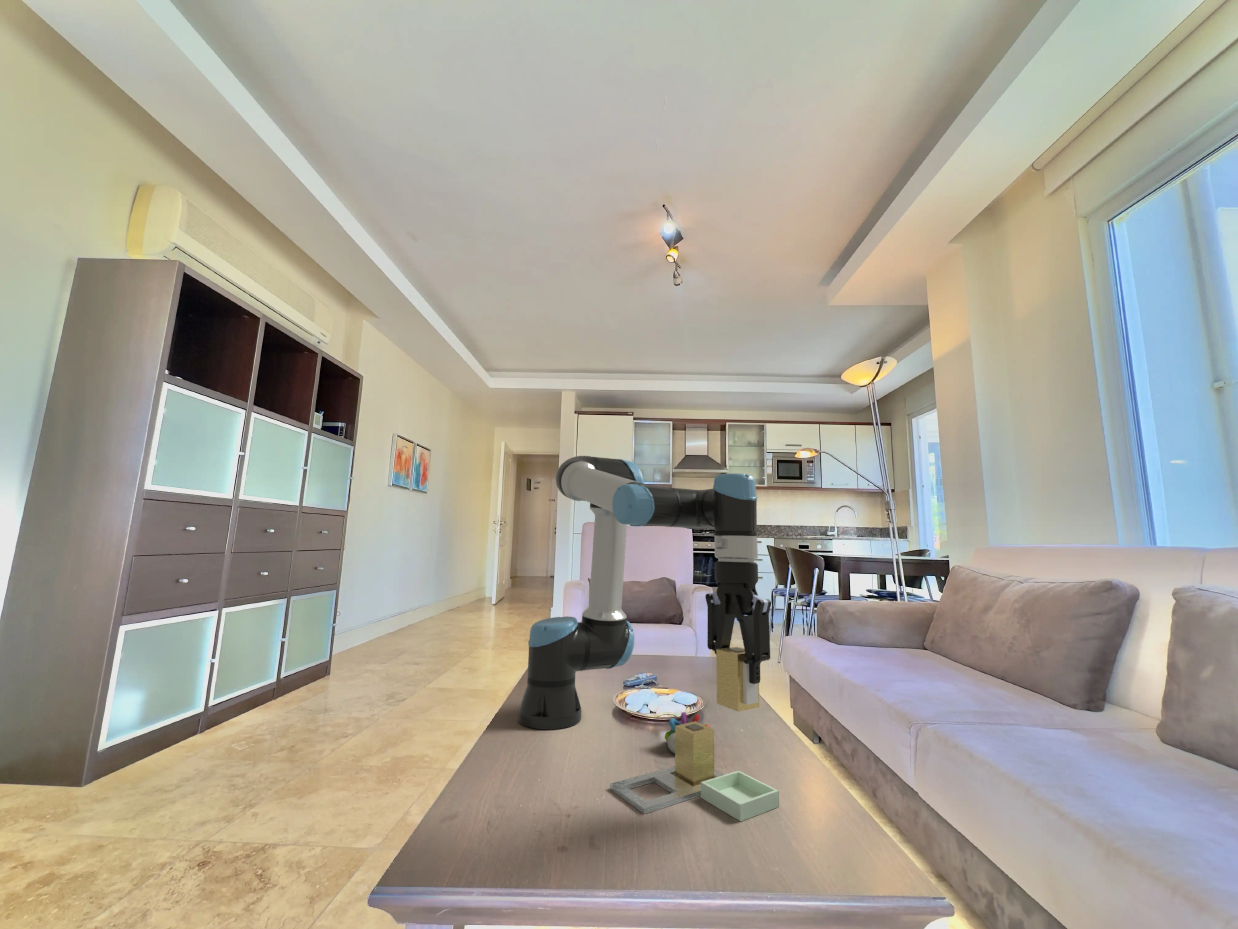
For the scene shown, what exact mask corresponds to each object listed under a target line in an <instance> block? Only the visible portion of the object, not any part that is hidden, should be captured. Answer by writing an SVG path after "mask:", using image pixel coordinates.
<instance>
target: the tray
mask: <svg viewBox="0 0 1238 929" xmlns="http://www.w3.org/2000/svg"><path fill="white" fill-rule="evenodd" d="M700 799H702V800H704V801H706V802H707V803H709V804H711V805H713V806H714V807H716V808H717V809H719V810H721V812H724V813H726V814H727V815H729V816H731V817H732V818H734V819H736V820H737V821H739V822H743V821H746V820H748V819H751V818H754V817H757V816H758V815H761V814H764V813H767V812H770V811H773V810H774V809H778V808H779V807H780V790H779V789H776V788H774V787H772V786H770V785H768V784H766V783H764V782H762V781H760V780H758V779H756V778H754V777H752V776H750V775H748V774H746V773H744V772H742V771H740V770H735V771H733V772H730V773H729V772H728V773H727V774H724V775H722V776H719V777H716V778H713V779H709V780H706V781H703V782H701V796H700Z"/></svg>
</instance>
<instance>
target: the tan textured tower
mask: <svg viewBox="0 0 1238 929" xmlns="http://www.w3.org/2000/svg"><path fill="white" fill-rule="evenodd" d="M680 724H681V723H680ZM705 725H706V724H702V723H700V722H699V721H698V722H696V721H695V722H692V721H691V722H688V723H686V724H681V725H677V726H675V753H674V756H675V758H674V759H675V760H674V766H675V776H676V777H678V778H679V779H681V780H683V781H684V782H686V783H688V784H690V785H691V786H697V785H700V784H701V782H703V781H706V780H709V779H713V778H714V769H715V729H714V728H712V727H708V726H705Z"/></svg>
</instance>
